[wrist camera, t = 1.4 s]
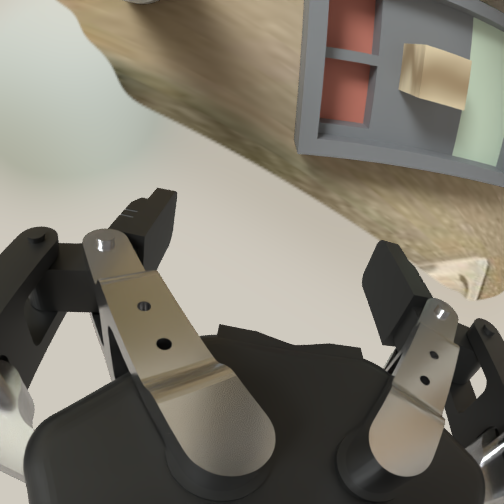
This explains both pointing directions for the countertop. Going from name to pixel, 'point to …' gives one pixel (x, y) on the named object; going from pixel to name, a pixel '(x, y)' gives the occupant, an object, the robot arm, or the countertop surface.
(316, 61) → the tray
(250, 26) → the countertop surface
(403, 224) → the countertop surface
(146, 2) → the travel mug
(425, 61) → the maple cube
